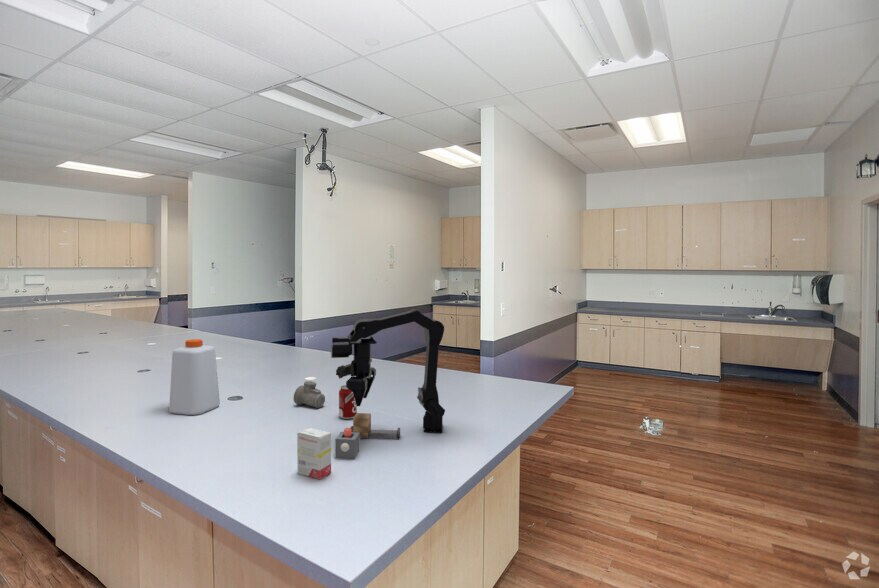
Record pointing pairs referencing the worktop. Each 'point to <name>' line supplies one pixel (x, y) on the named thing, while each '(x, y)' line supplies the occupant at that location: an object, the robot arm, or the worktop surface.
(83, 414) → the worktop surface
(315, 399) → the pipe fitting
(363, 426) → the block
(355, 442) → the grey button housing
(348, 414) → the soda can
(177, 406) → the plastic bottle
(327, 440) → the ink box
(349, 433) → the red peg
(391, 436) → the rail
